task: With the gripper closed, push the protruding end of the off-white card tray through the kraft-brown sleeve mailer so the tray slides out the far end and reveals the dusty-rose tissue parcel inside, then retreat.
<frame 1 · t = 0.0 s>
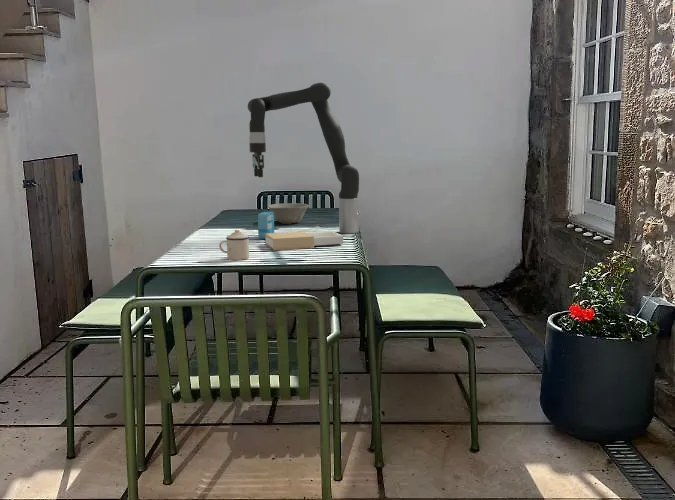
hand: (258, 176, 312), 29 cm above the table, fingers open, 8 cm apart
mailer sleeve: (289, 246, 294), on the table
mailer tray: (304, 239, 295), point 2 cm above the table, slide at 0.0 cm
teacup with lid: (234, 259, 266), on the table
ceramic bowl: (288, 223, 369), on the table
data package: (266, 238, 319), on the table
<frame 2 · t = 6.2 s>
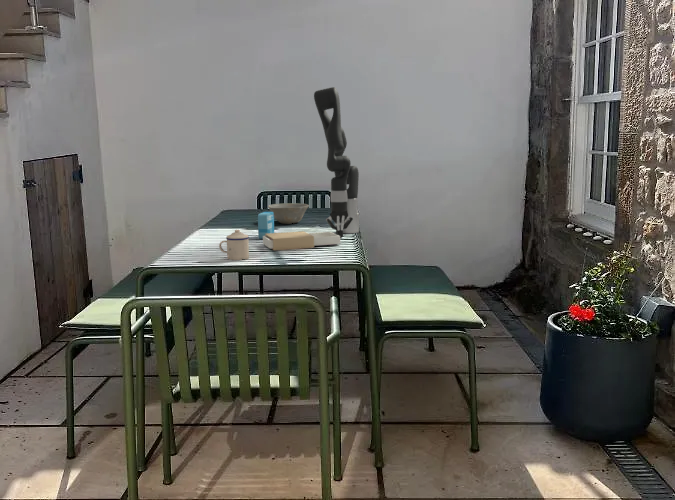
hand: (339, 238, 301), 2 cm above the table, fingers closed
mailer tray: (301, 239, 295), point 2 cm above the table, slide at 1.4 cm, touching gripper
everything else where it was.
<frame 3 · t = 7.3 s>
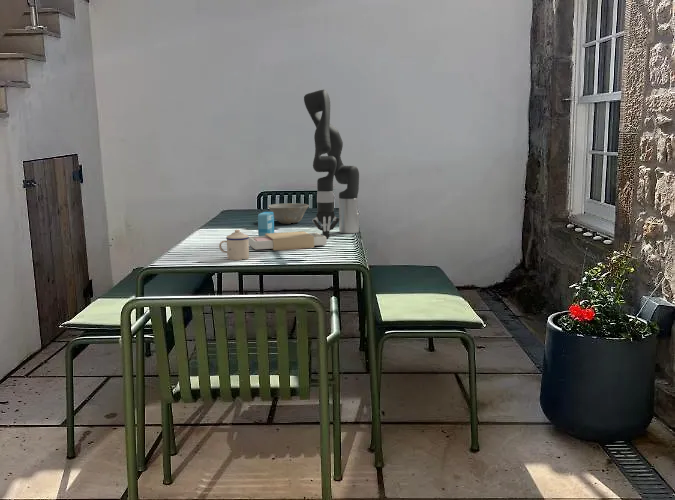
hand: (325, 239, 299), 2 cm above the table, fingers closed
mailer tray: (287, 240, 293), point 2 cm above the table, slide at 7.9 cm, touching gripper
everything else where it was.
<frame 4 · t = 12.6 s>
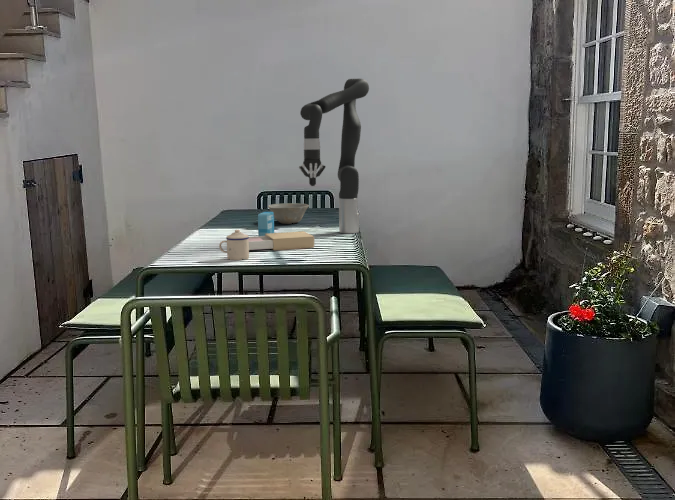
hand: (312, 185, 309), 25 cm above the table, fingers closed
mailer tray: (275, 241, 291), point 2 cm above the table, slide at 13.4 cm
everything else where it was.
at the end: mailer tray slide at 13.4 cm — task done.
